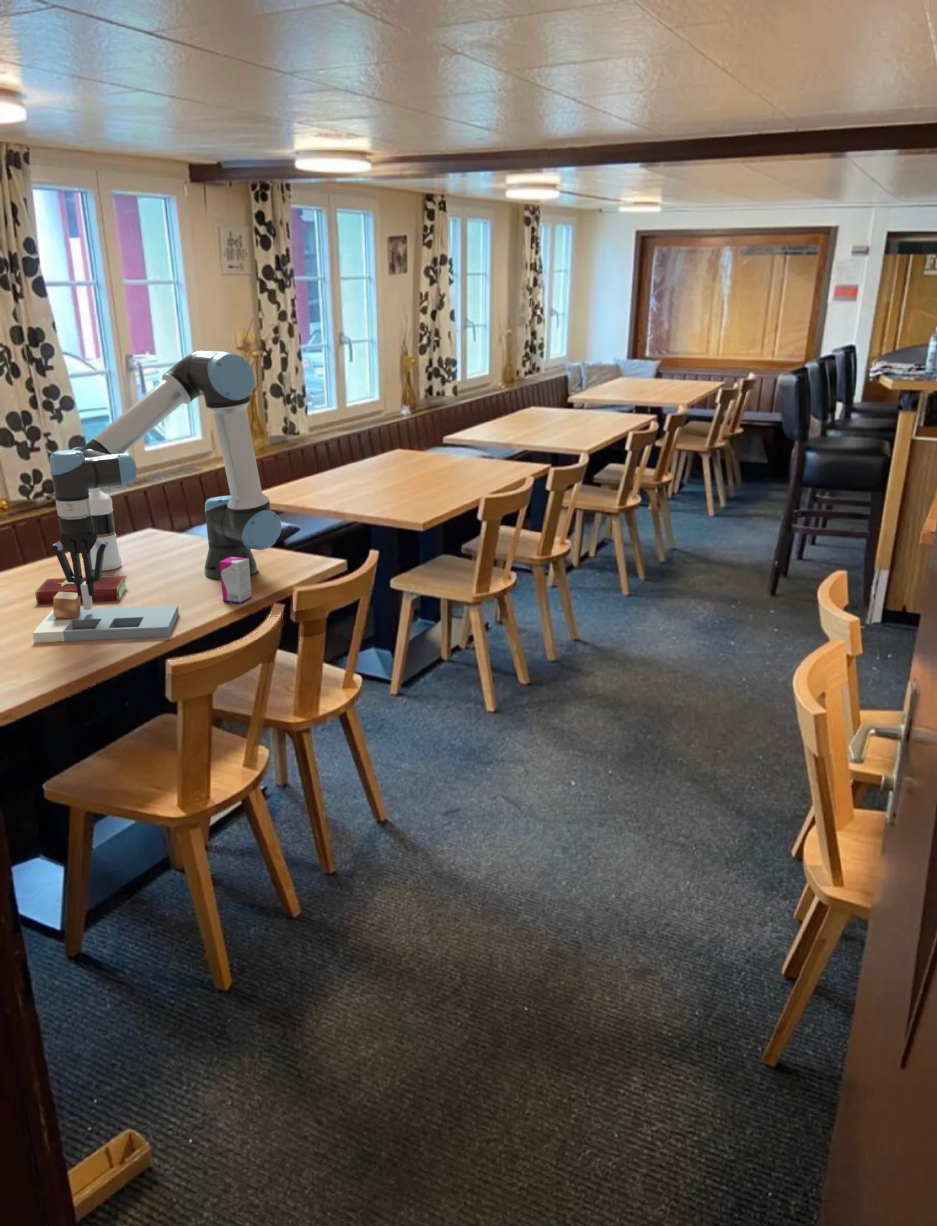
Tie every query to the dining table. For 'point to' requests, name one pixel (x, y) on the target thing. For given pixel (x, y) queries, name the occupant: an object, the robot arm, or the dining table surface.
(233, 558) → the supplement box
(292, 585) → the dining table surface
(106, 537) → the vodka
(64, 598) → the block
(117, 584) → the hardcover book
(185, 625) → the dining table surface
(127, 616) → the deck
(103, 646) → the dining table surface
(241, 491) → the robot arm
